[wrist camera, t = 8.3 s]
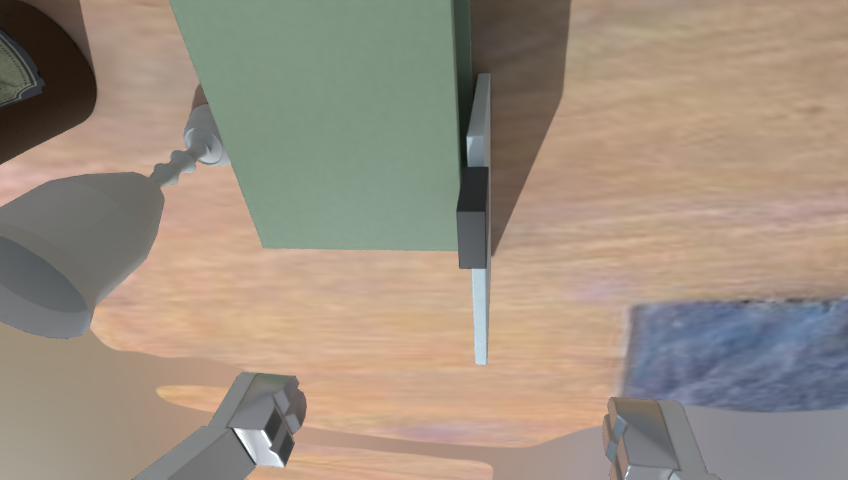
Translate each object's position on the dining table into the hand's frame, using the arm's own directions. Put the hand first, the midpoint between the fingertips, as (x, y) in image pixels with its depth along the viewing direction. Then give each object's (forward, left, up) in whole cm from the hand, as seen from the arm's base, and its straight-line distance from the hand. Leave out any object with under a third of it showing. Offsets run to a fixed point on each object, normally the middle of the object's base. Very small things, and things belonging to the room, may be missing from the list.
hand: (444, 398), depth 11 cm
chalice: (+1, -21, -23) cm, 31 cm away
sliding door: (+6, 0, -23) cm, 23 cm away
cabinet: (-4, -7, -23) cm, 24 cm away
